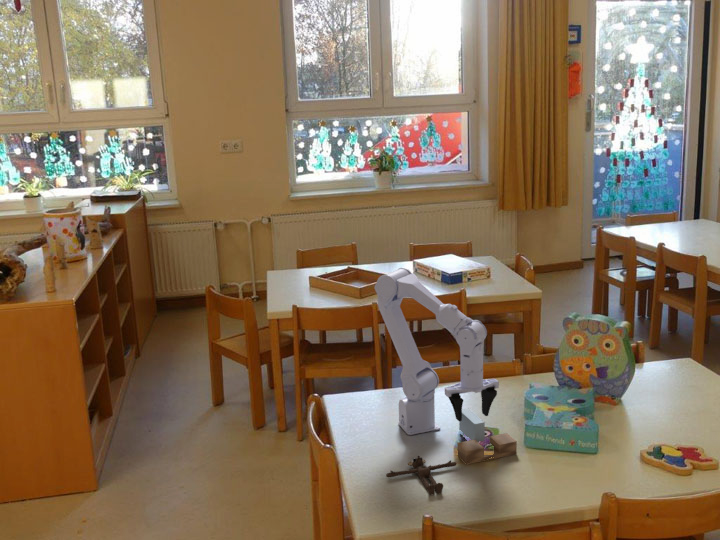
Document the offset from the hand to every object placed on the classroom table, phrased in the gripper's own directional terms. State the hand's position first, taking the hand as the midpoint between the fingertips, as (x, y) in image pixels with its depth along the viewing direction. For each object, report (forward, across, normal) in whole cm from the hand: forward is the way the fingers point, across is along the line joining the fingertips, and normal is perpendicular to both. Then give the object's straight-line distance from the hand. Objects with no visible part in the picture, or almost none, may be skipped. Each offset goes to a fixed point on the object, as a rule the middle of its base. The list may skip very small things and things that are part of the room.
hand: (472, 417), depth 197 cm
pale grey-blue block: (+7, 0, 0) cm, 7 cm away
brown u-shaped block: (+7, 0, -8) cm, 11 cm away
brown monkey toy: (+7, -19, -13) cm, 24 cm away
